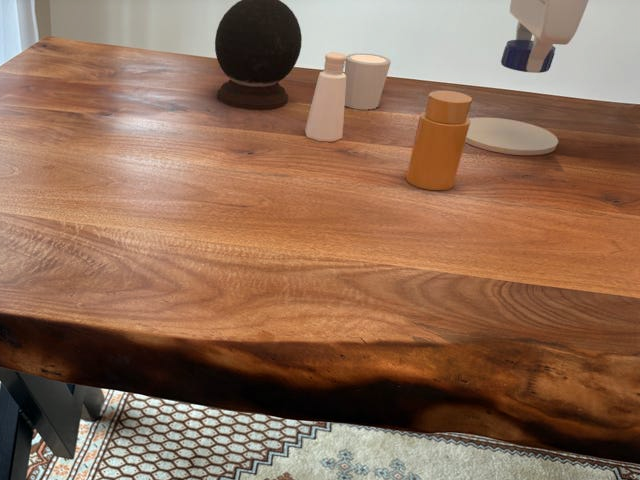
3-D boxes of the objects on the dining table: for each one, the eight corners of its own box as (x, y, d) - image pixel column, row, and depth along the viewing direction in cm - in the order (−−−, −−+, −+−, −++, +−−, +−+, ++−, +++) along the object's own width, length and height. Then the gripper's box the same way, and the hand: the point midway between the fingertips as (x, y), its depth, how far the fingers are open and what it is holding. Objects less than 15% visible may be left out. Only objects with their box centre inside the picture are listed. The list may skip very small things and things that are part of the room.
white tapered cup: (355, 112, 118) (363, 65, 114) (329, 99, 123) (336, 54, 119) (391, 108, 121) (400, 62, 117) (364, 96, 126) (372, 51, 122)
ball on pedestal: (287, 88, 128) (299, -11, 119) (300, 112, 117) (314, 6, 108) (208, 85, 127) (215, -14, 119) (213, 110, 117) (221, 3, 108)
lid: (503, 70, 103) (510, 48, 102) (497, 58, 108) (503, 37, 107) (553, 74, 102) (560, 52, 101) (544, 63, 107) (551, 42, 106)
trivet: (543, 127, 116) (544, 121, 115) (568, 159, 104) (570, 154, 104) (447, 119, 117) (448, 113, 117) (462, 150, 106) (463, 144, 105)
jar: (449, 175, 98) (472, 91, 92) (456, 192, 93) (480, 105, 87) (403, 170, 99) (422, 87, 93) (408, 188, 94) (428, 101, 88)
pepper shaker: (349, 140, 108) (364, 58, 101) (315, 143, 106) (328, 60, 100) (330, 128, 112) (343, 48, 105) (297, 131, 110) (308, 50, 104)
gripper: (516, -62, 106) (487, 44, 114) (554, -40, 89) (517, 82, 97) (564, -58, 105) (531, 48, 113) (611, -36, 89) (569, 86, 97)
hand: (525, 64), depth 105 cm, fingers closed on lid, 6 cm apart
